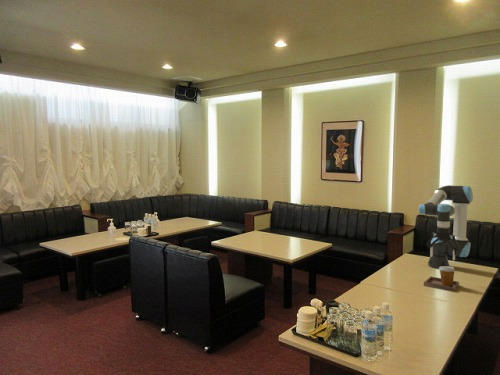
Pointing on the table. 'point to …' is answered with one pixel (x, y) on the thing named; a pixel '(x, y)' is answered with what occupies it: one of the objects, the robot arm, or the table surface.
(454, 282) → the walnut tray
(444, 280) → the disposable coffee cup
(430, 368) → the table surface
